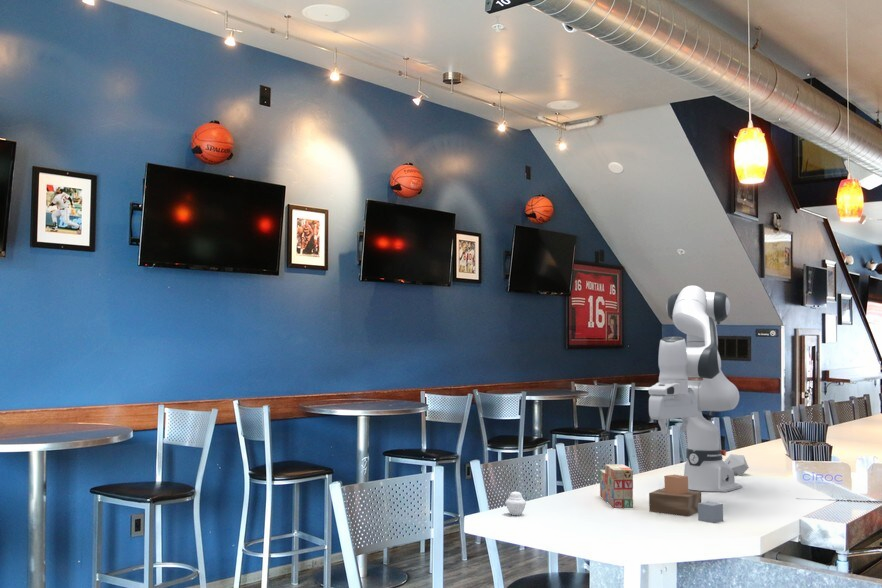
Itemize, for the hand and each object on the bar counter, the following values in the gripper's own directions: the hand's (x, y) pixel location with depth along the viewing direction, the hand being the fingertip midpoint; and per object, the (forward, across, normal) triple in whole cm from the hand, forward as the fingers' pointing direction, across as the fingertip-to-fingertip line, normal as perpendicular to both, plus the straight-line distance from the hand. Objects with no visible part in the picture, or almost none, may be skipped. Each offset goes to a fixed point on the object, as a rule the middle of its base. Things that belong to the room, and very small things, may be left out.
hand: (674, 433), depth 248 cm
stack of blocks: (+24, +4, -21) cm, 32 cm away
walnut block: (+24, 0, 0) cm, 24 cm away
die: (+25, -85, -33) cm, 94 cm away
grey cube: (+24, +4, +15) cm, 29 cm away
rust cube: (+18, 0, 0) cm, 18 cm away
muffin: (+24, +44, -25) cm, 56 cm away
